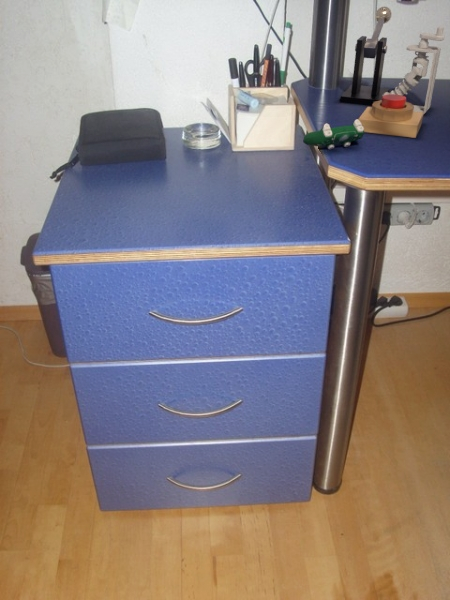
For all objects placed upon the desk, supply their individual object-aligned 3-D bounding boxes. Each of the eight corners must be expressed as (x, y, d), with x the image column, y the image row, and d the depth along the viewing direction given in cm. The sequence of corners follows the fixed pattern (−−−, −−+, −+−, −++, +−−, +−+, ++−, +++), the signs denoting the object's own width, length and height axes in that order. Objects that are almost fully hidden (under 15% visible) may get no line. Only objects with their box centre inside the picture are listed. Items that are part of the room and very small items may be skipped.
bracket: (350, 90, 127) (357, 33, 121) (388, 93, 124) (397, 35, 118) (340, 102, 119) (346, 41, 113) (380, 106, 117) (388, 44, 110)
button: (406, 105, 104) (407, 95, 103) (402, 111, 101) (404, 101, 100) (383, 103, 105) (384, 93, 105) (379, 109, 102) (380, 99, 101)
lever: (376, 17, 124) (377, 2, 121) (392, 18, 123) (393, 3, 120) (361, 59, 118) (361, 45, 115) (377, 60, 117) (378, 46, 114)
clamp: (384, 103, 118) (396, 21, 110) (433, 109, 115) (449, 24, 106) (378, 108, 115) (390, 24, 107) (428, 115, 112) (444, 28, 103)
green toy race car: (307, 159, 98) (321, 142, 92) (300, 138, 98) (314, 119, 92) (356, 151, 100) (373, 134, 94) (349, 131, 101) (365, 112, 95)
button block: (421, 124, 107) (425, 102, 105) (415, 138, 101) (419, 114, 98) (366, 118, 110) (368, 96, 108) (356, 131, 104) (359, 108, 102)
